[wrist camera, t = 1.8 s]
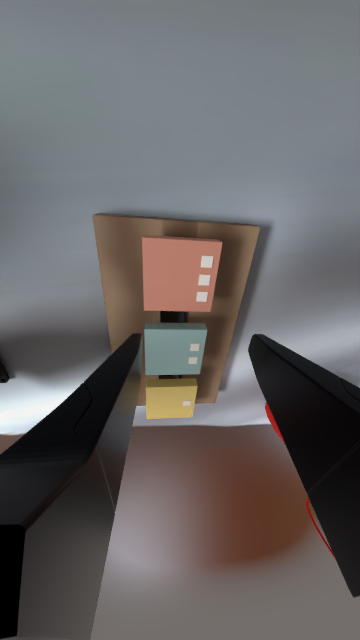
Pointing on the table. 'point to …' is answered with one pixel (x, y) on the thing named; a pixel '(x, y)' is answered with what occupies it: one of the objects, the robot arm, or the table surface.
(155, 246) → the tile brick
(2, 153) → the table surface
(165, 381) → the tile mustard
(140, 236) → the button board
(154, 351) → the tile teal
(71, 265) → the table surface
